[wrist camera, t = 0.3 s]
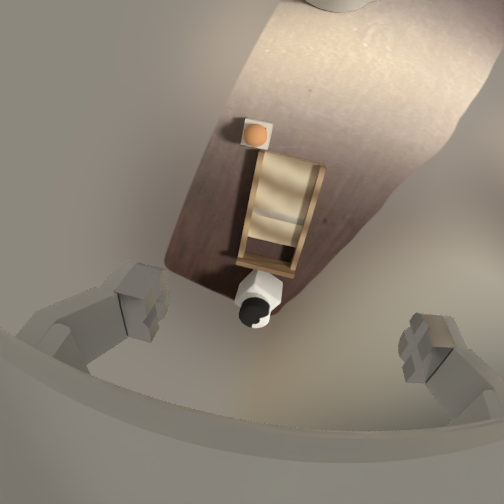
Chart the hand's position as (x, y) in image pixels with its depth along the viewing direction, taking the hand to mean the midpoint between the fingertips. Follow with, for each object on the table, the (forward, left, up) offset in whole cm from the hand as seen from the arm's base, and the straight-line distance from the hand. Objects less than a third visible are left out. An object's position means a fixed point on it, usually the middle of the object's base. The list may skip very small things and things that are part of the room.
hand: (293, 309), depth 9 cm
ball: (+2, -7, -42) cm, 43 cm away
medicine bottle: (+34, 0, -46) cm, 57 cm away
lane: (+16, 0, -46) cm, 49 cm away
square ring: (+2, -7, -46) cm, 47 cm away
